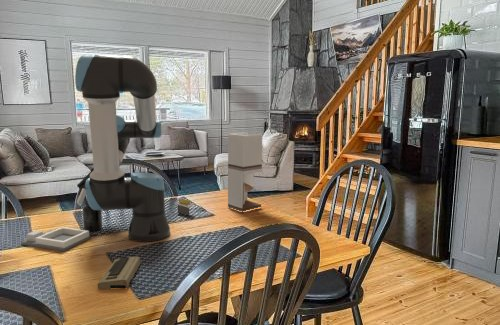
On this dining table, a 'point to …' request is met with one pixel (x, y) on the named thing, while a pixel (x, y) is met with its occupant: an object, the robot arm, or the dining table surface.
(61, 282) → the dining table surface
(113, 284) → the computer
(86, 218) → the supplement bottle
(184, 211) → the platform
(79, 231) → the charging dock
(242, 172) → the notched beige pillar
